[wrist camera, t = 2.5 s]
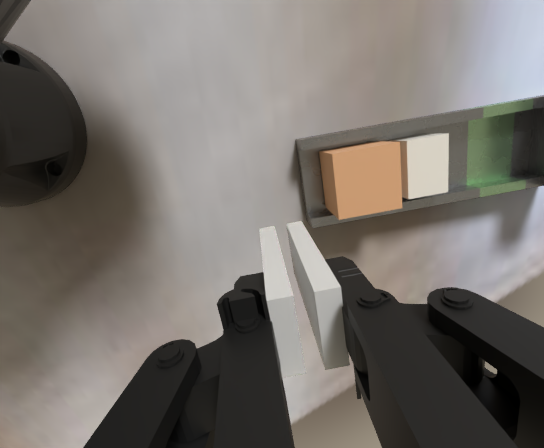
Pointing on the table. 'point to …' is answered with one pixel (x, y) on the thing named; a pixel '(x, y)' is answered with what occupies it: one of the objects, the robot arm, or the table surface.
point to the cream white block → (424, 164)
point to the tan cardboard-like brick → (362, 178)
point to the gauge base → (462, 154)
